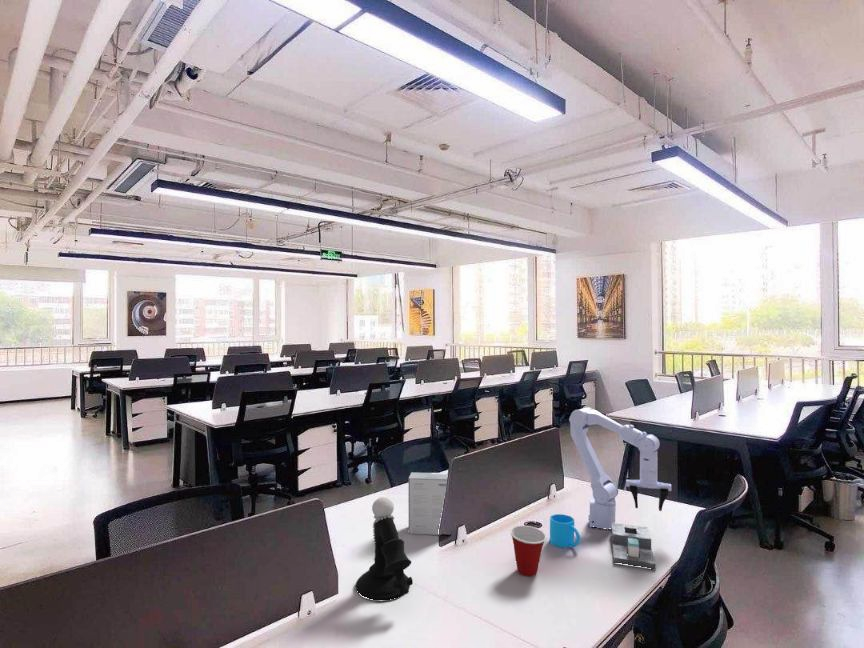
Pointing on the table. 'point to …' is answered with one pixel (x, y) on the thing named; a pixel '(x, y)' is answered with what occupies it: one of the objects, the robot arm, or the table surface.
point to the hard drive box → (426, 502)
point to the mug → (563, 531)
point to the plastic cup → (527, 548)
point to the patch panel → (621, 545)
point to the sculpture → (385, 558)
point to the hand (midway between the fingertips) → (648, 508)
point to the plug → (633, 547)
